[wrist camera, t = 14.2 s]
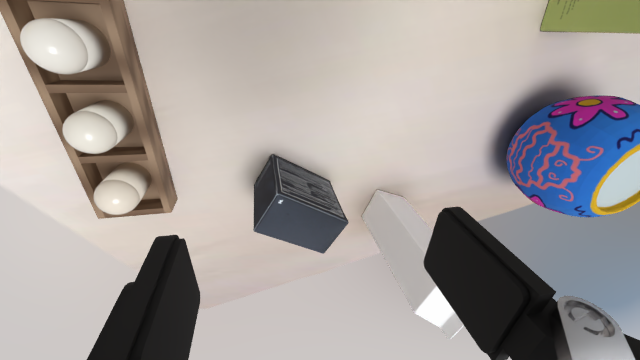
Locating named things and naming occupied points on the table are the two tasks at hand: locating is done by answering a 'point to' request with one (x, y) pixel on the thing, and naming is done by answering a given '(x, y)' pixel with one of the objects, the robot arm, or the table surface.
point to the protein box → (592, 16)
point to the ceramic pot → (579, 156)
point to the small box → (296, 206)
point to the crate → (100, 97)
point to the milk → (409, 257)
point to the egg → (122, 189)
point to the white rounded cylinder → (65, 45)
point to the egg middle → (98, 127)
